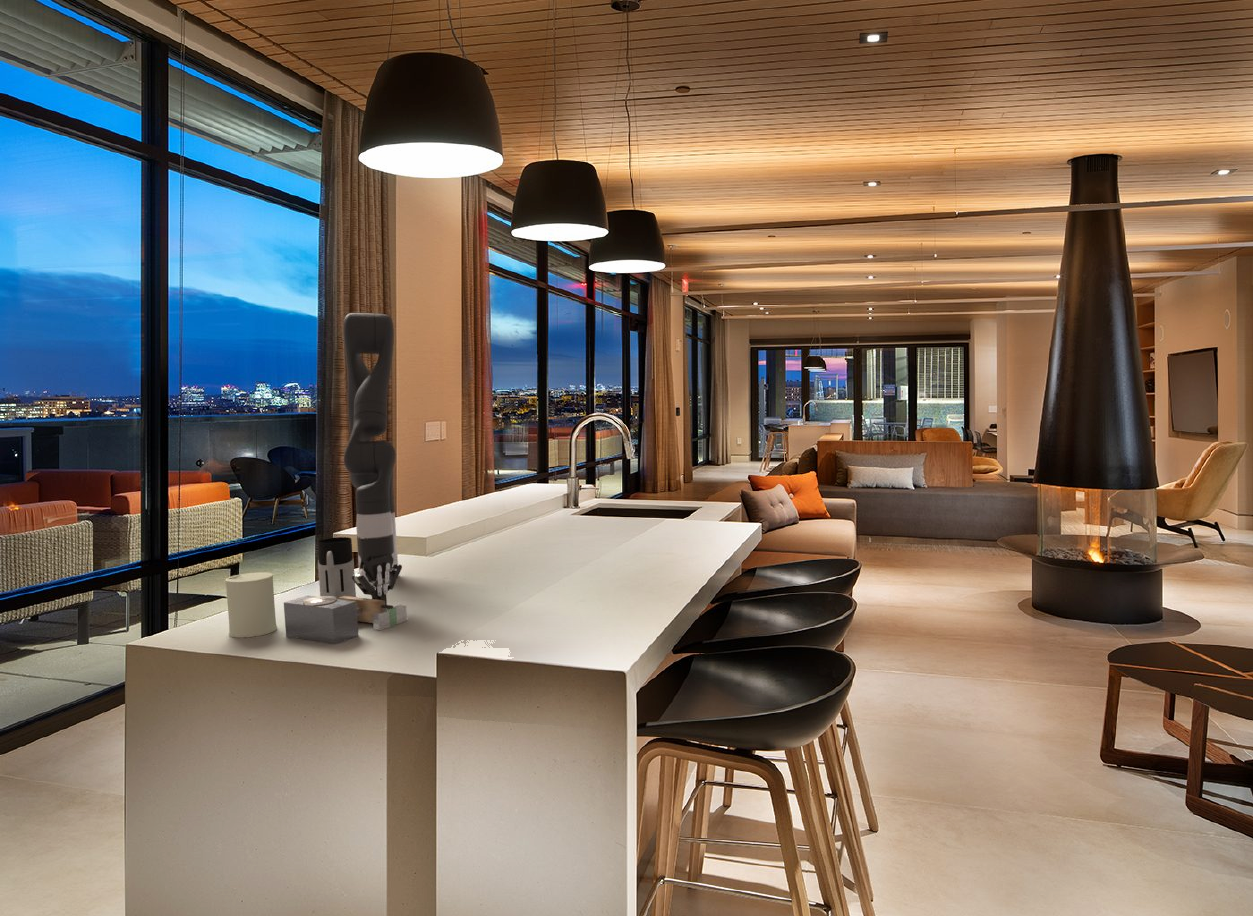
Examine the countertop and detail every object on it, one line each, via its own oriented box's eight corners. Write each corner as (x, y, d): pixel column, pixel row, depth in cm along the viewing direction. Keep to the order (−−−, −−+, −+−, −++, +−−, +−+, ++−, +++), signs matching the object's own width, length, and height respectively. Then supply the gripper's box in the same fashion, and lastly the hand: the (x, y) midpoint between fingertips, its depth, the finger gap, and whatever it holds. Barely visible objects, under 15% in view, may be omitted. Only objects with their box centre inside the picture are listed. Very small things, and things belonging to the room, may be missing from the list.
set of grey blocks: (285, 636, 173) (282, 600, 173) (355, 613, 189) (353, 580, 189) (338, 644, 166) (336, 607, 165) (407, 620, 182) (405, 586, 181)
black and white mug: (360, 597, 204) (356, 535, 203) (352, 612, 191) (347, 546, 189) (322, 600, 203) (318, 538, 202) (311, 615, 189) (306, 548, 188)
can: (238, 626, 182) (234, 571, 181) (283, 624, 183) (279, 568, 182) (221, 639, 173) (217, 580, 172) (268, 636, 174) (264, 578, 173)
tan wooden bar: (325, 623, 181) (323, 601, 180) (345, 616, 186) (344, 595, 185) (376, 630, 174) (374, 608, 173) (396, 623, 178) (394, 601, 178)
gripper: (384, 527, 193) (389, 603, 194) (338, 537, 181) (344, 617, 183) (409, 529, 189) (414, 606, 190) (364, 539, 178) (369, 621, 179)
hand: (380, 611), depth 187 cm, fingers closed
